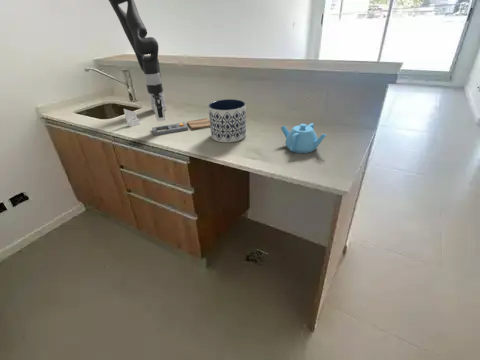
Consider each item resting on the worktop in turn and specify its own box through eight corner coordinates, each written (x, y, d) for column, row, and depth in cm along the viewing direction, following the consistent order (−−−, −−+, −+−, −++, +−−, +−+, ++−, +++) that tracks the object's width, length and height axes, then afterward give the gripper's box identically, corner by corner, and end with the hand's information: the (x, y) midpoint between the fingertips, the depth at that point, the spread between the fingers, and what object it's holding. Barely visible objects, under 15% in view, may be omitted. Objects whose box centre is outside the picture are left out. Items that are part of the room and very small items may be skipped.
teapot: (309, 138, 133) (311, 116, 127) (324, 153, 119) (328, 129, 113) (279, 141, 131) (280, 119, 125) (291, 157, 117) (292, 133, 111)
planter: (207, 133, 144) (204, 102, 135) (239, 127, 149) (237, 97, 140) (217, 145, 129) (214, 112, 121) (251, 139, 134) (251, 106, 126)
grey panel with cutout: (152, 130, 150) (151, 126, 149) (184, 124, 156) (184, 120, 154) (154, 135, 143) (153, 131, 142) (188, 129, 149) (187, 125, 147)
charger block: (156, 119, 146) (152, 102, 141) (164, 117, 147) (161, 101, 142) (157, 121, 142) (153, 104, 138) (165, 120, 144) (162, 103, 139)
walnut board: (187, 123, 157) (187, 121, 157) (207, 120, 161) (206, 118, 160) (192, 130, 148) (192, 128, 147) (213, 126, 152) (213, 124, 151)
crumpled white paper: (119, 123, 154) (123, 108, 152) (135, 127, 162) (138, 113, 161) (123, 124, 152) (126, 109, 151) (138, 128, 160) (142, 114, 159)
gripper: (144, 80, 139) (151, 113, 148) (147, 86, 128) (154, 121, 137) (159, 79, 141) (165, 111, 150) (163, 84, 130) (169, 118, 139)
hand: (160, 115), depth 144 cm, fingers closed on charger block, 4 cm apart
